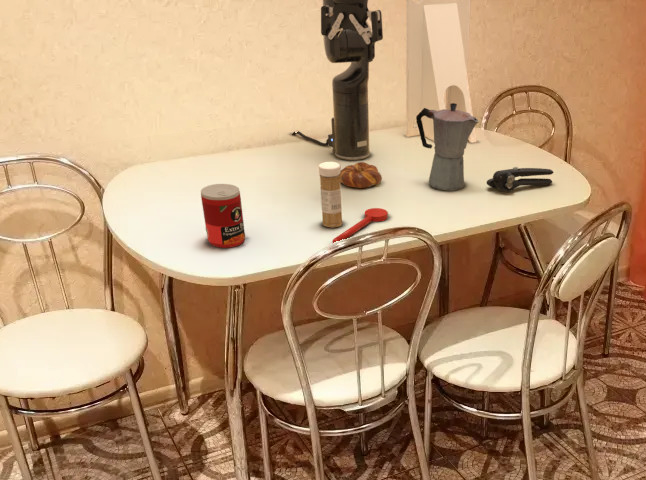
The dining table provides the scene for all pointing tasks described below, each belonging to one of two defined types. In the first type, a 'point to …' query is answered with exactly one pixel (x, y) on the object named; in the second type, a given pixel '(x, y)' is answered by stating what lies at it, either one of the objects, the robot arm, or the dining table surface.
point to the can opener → (507, 181)
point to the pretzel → (360, 175)
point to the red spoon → (364, 222)
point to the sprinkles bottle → (330, 194)
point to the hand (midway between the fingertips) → (352, 59)
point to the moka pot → (448, 145)
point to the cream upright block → (436, 60)
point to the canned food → (223, 215)
